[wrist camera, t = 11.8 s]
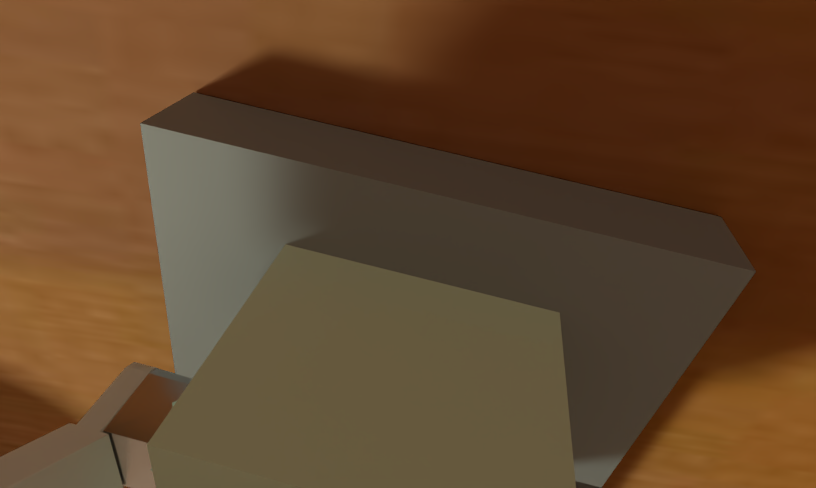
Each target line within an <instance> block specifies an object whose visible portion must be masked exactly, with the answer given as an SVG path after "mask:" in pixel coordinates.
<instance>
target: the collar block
mask: <svg viewBox="0 0 816 488" xmlns="http://www.w3.org/2000/svg"><path fill="white" fill-rule="evenodd" d="M147 448H148V453H149V457H150V462H151V466H152V471H153V476H154V480H155V485H156V488H576V483H575V472H574V461H573V451H572V440H571V429H570V418H569V408H568V397H567V386H566V375H565V364H564V354H563V343H562V332H561V321H560V313H559V312H555V311H551V310H547V309H543V308H539V307H535V306H531V305H527V304H523V303H519V302H515V301H511V300H507V299H503V298H499V297H495V296H491V295H487V294H483V293H479V292H475V291H471V290H467V289H463V288H459V287H455V286H451V285H447V284H443V283H439V282H435V281H431V280H427V279H423V278H419V277H415V276H411V275H407V274H403V273H399V272H395V271H391V270H387V269H383V268H379V267H375V266H370V265H366V264H362V263H358V262H354V261H350V260H346V259H342V258H338V257H334V256H330V255H326V254H322V253H318V252H314V251H310V250H306V249H302V248H298V247H294V246H290V245H286V244H285V246H284V247H283V249H282V250H281V251H280V253H279V254H278V256H277V257H276V259H275V260H274V262H273V263H272V264H271V266H270V267H269V269H268V270H267V272H266V273H265V275H264V276H263V277H262V279H261V280H260V282H259V283H258V285H257V286H256V288H255V289H254V290H253V292H252V293H251V295H250V296H249V298H248V299H247V301H246V302H245V303H244V305H243V306H242V308H241V309H240V311H239V312H238V314H237V315H236V316H235V318H234V319H233V321H232V322H231V324H230V325H229V327H228V328H227V329H226V331H225V332H224V334H223V335H222V337H221V338H220V340H219V341H218V342H217V344H216V345H215V347H214V348H213V350H212V351H211V353H210V354H209V355H208V357H207V358H206V360H205V361H204V363H203V364H202V366H201V367H200V368H199V370H198V371H197V373H196V374H195V376H194V377H193V379H192V380H191V381H190V383H189V384H188V386H187V387H186V389H185V390H184V392H183V393H182V394H181V396H180V397H179V399H178V400H177V402H176V403H175V405H174V406H173V407H172V409H171V410H170V412H169V413H168V415H167V416H166V418H165V419H164V420H163V422H162V423H161V425H160V426H159V428H158V429H157V431H156V432H155V433H154V435H153V436H152V438H151V439H150V441H149V442H148V444H147Z"/></svg>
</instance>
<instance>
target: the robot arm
mask: <svg viewBox="0 0 816 488" xmlns="http://www.w3.org/2000/svg"><path fill="white" fill-rule="evenodd" d="M192 379H193V378H189V377H186V376H182V375H179V374H175V373H172V372H168V371H164V370H161V369H158V368H155V367H151V366H147V365H144V364H140V363H136V362H133V363H132V364H130V365H129V366H127V367H126V368H125V369H124V370H123V371H122V372H121V373H120V375H119V376H118V377H117V378H116V379H115V380H114V382H113V383H112V384H111V385H110V386H109V387H108V388H107V390H106V391H105V392H104V393H103V394H102V395H101V397H100V398H99V399H98V400H97V401H96V402H95V404H94V405H93V406H92V407H91V408H90V409H89V411H88V412H87V413H86V414H85V415H84V416H83V418H82V419H81V420H80V421H79V422H78V423H77V424H72V423H68V424H66V425H64V426H62V427H60V428H58V429H56V430H54V431H52V432H50V433H48V434H46V435H44V436H42V437H40V438H38V439H36V440H34V441H32V442H30V443H28V444H25V445H23V446H21V447H19V448H17V449H15V450H13V451H11V452H9V453H7V454H5V455H3V456H1V457H0V488H123V486H126V487H130V488H156V485H155V480H154V476H153V471H152V466H151V462H150V457H149V453H148V448H147V444H148V442H149V441H150V439H151V438H152V436H153V435H154V433H155V432H156V431H157V429H158V428H159V426H160V425H161V423H162V422H163V420H164V419H165V418H166V416H167V415H168V413H169V412H170V410H171V409H172V407H173V406H174V405H175V403H176V402H177V400H178V399H179V397H180V396H181V394H182V393H183V392H184V390H185V389H186V387H187V386H188V384H189V383H190V381H191V380H192ZM575 483H576V488H601V487H597V486H593V485H589V484H585V483H581V482H577V481H575Z"/></svg>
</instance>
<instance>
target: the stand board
mask: <svg viewBox="0 0 816 488" xmlns="http://www.w3.org/2000/svg"><path fill="white" fill-rule="evenodd" d="M140 125H141V132H142V139H143V146H144V153H145V160H146V167H147V174H148V182H149V189H150V196H151V203H152V210H153V217H154V224H155V232H156V239H157V246H158V253H159V260H160V267H161V274H162V281H163V289H164V296H165V303H166V310H167V317H168V324H169V331H170V339H171V346H172V353H173V360H174V367H175V374H179V375H182V376H186V377H189V378H193V377H194V376H195V374H196V373H197V371H198V370H199V368H200V367H201V366H202V364H203V363H204V361H205V360H206V358H207V357H208V355H209V354H210V353H211V351H212V350H213V348H214V347H215V345H216V344H217V342H218V341H219V340H220V338H221V337H222V335H223V334H224V332H225V331H226V329H227V328H228V327H229V325H230V324H231V322H232V321H233V319H234V318H235V316H236V315H237V314H238V312H239V311H240V309H241V308H242V306H243V305H244V303H245V302H246V301H247V299H248V298H249V296H250V295H251V293H252V292H253V290H254V289H255V288H256V286H257V285H258V283H259V282H260V280H261V279H262V277H263V276H264V275H265V273H266V272H267V270H268V269H269V267H270V266H271V264H272V263H273V262H274V260H275V259H276V257H277V256H278V254H279V253H280V251H281V250H282V249H283V247H284V246H285V244H286V245H290V246H294V247H298V248H302V249H306V250H310V251H314V252H318V253H322V254H326V255H330V256H334V257H338V258H342V259H346V260H350V261H354V262H358V263H362V264H366V265H370V266H375V267H379V268H383V269H387V270H391V271H395V272H399V273H403V274H407V275H411V276H415V277H419V278H423V279H427V280H431V281H435V282H439V283H443V284H447V285H451V286H455V287H459V288H463V289H467V290H471V291H475V292H479V293H483V294H487V295H491V296H495V297H499V298H503V299H507V300H511V301H515V302H519V303H523V304H527V305H531V306H535V307H539V308H543V309H547V310H551V311H555V312H559V313H560V321H561V332H562V343H563V354H564V364H565V375H566V386H567V397H568V408H569V418H570V429H571V440H572V451H573V461H574V472H575V481H577V482H581V483H585V484H589V485H593V486H597V487H602V486H603V485H604V483H605V482H606V480H607V479H608V478H609V476H610V475H611V474H612V472H613V471H614V469H615V468H616V467H617V465H618V464H619V462H620V461H621V460H622V458H623V457H624V455H625V454H626V453H627V451H628V450H629V448H630V447H631V446H632V444H633V443H634V441H635V440H636V439H637V437H638V436H639V434H640V433H641V432H642V430H643V429H644V427H645V426H646V425H647V423H648V422H649V420H650V419H651V418H652V416H653V415H654V413H655V412H656V411H657V409H658V408H659V406H660V405H661V404H662V402H663V401H664V399H665V398H666V397H667V395H668V394H669V392H670V391H671V390H672V388H673V387H674V385H675V384H676V383H677V381H678V380H679V378H680V377H681V376H682V374H683V373H684V371H685V370H686V369H687V367H688V366H689V365H690V363H691V362H692V360H693V359H694V358H695V356H696V355H697V353H698V352H699V351H700V349H701V348H702V346H703V345H704V344H705V342H706V341H707V339H708V338H709V337H710V335H711V334H712V332H713V331H714V330H715V328H716V327H717V325H718V324H719V323H720V321H721V320H722V318H723V317H724V316H725V314H726V313H727V311H728V310H729V309H730V307H731V306H732V304H733V303H734V302H735V300H736V299H737V297H738V296H739V295H740V293H741V292H742V290H743V289H744V288H745V286H746V285H747V283H748V282H749V281H750V279H751V278H752V276H753V275H754V274H755V272H756V271H755V269H754V268H753V266H752V265H751V263H750V261H749V260H748V258H747V257H746V255H745V254H744V252H743V250H742V249H741V247H740V246H739V244H738V243H737V241H736V239H735V238H734V236H733V235H732V233H731V232H730V230H729V228H728V227H727V225H726V224H725V222H724V221H723V219H722V217H719V216H715V215H711V214H707V213H702V212H698V211H694V210H690V209H685V208H681V207H677V206H673V205H669V204H664V203H660V202H656V201H652V200H647V199H643V198H639V197H635V196H630V195H626V194H622V193H618V192H613V191H609V190H605V189H601V188H597V187H592V186H588V185H584V184H580V183H575V182H571V181H567V180H563V179H558V178H554V177H550V176H546V175H541V174H537V173H533V172H529V171H524V170H520V169H516V168H512V167H508V166H503V165H499V164H495V163H491V162H486V161H482V160H478V159H474V158H469V157H465V156H461V155H457V154H452V153H448V152H444V151H440V150H436V149H431V148H427V147H423V146H419V145H414V144H410V143H406V142H402V141H397V140H393V139H389V138H385V137H380V136H376V135H372V134H368V133H364V132H359V131H355V130H351V129H347V128H342V127H338V126H334V125H330V124H325V123H321V122H317V121H313V120H308V119H304V118H300V117H296V116H292V115H287V114H283V113H279V112H275V111H270V110H266V109H262V108H258V107H253V106H249V105H245V104H241V103H236V102H232V101H228V100H224V99H219V98H215V97H211V96H207V95H203V94H198V93H194V92H193V93H192V94H190V95H188V96H187V97H185V98H183V99H181V100H180V101H178V102H176V103H174V104H173V105H171V106H169V107H168V108H166V109H164V110H162V111H161V112H159V113H157V114H155V115H154V116H152V117H150V118H148V119H147V120H145V121H143V122H142V123H140Z"/></svg>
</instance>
